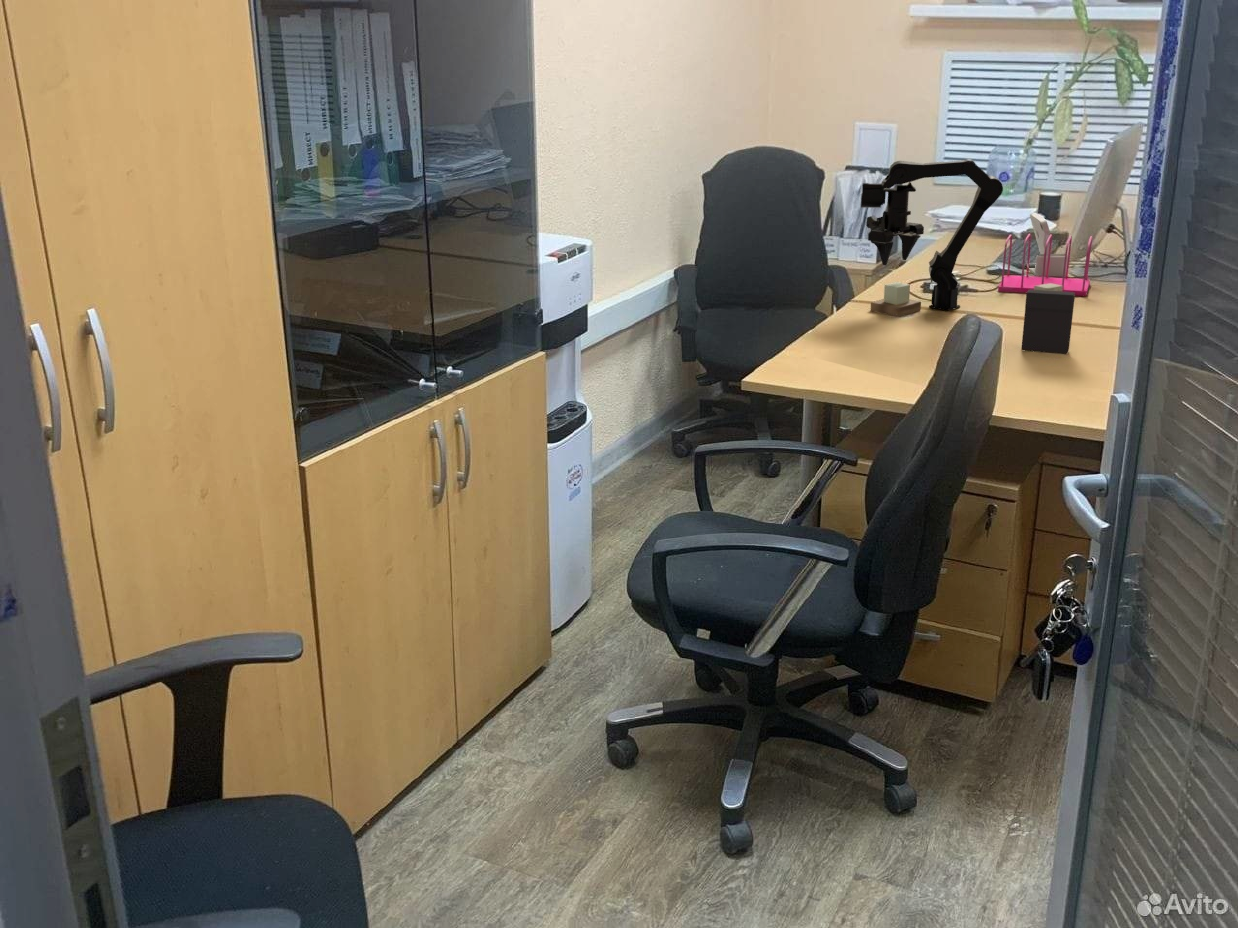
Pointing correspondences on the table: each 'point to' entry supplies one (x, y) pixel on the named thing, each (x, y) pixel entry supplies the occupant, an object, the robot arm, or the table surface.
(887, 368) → the table surface
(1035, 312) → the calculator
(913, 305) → the walnut block
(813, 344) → the table surface
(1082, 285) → the file sorter
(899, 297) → the sage cube
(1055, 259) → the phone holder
